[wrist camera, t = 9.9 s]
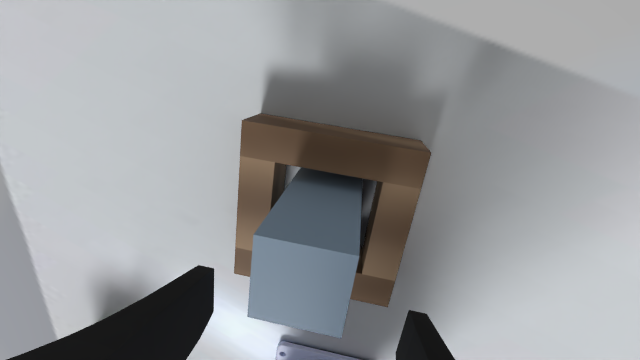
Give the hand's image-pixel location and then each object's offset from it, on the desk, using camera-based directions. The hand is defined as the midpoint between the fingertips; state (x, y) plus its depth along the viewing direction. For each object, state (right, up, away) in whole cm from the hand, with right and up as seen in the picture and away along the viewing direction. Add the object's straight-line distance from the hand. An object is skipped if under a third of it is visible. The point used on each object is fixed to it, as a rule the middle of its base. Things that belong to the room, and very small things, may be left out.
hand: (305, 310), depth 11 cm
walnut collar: (+1, +3, +9) cm, 10 cm away
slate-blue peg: (+1, +3, +9) cm, 10 cm away
